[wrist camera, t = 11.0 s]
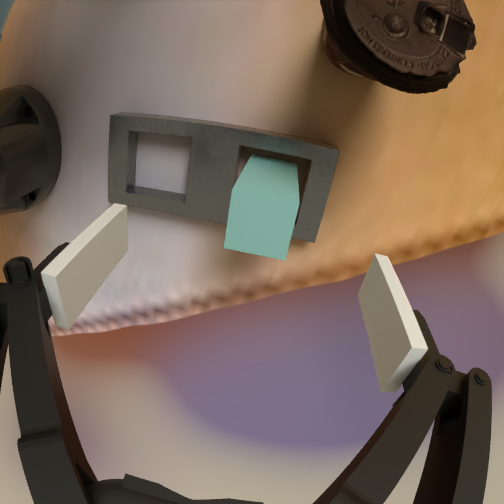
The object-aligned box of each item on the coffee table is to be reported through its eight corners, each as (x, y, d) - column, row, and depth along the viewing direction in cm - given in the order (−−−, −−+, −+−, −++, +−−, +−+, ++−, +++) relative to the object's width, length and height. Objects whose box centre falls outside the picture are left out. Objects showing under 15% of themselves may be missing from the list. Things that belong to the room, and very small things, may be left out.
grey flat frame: (117, 195, 30) (108, 202, 29) (121, 112, 26) (110, 115, 24) (313, 233, 30) (314, 242, 28) (336, 146, 26) (339, 150, 24)
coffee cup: (422, 67, 21) (510, 66, 10) (346, 106, 24) (393, 124, 13) (368, -15, 18) (421, -75, 7) (289, 23, 21) (287, -29, 10)
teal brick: (244, 195, 29) (223, 248, 20) (251, 154, 27) (232, 189, 18) (287, 204, 29) (285, 260, 20) (296, 163, 27) (299, 202, 18)
